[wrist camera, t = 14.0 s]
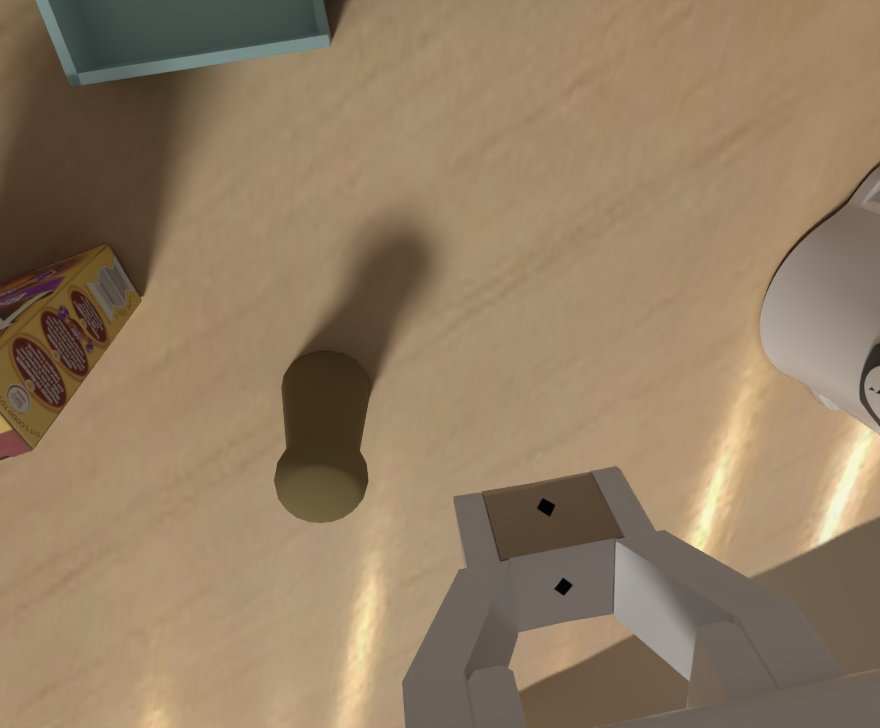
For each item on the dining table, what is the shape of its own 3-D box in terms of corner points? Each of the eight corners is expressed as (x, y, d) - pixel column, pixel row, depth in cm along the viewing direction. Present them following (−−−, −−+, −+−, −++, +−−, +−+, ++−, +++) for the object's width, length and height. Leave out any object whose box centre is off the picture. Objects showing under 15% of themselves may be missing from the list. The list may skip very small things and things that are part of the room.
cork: (281, 348, 42) (262, 454, 32) (373, 352, 43) (380, 456, 33) (281, 423, 45) (264, 540, 35) (367, 425, 46) (373, 539, 36)
